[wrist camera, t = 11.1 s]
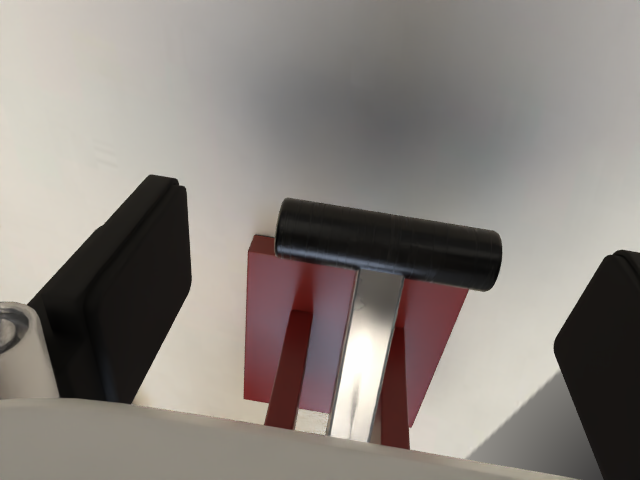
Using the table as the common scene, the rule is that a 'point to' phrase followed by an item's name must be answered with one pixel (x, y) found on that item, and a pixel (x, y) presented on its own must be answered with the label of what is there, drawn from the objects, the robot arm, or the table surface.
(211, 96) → the table surface
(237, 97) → the table surface
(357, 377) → the lever
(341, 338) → the red wooden frame
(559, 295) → the table surface
